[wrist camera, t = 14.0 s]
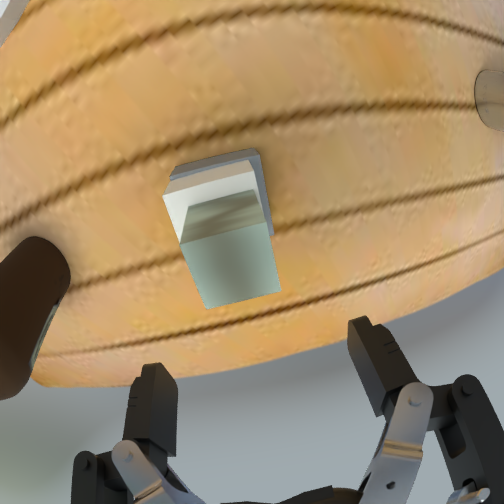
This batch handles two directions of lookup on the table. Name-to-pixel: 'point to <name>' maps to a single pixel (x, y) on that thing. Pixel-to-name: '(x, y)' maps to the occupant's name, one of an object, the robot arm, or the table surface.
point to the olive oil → (27, 307)
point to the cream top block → (207, 189)
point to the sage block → (229, 250)
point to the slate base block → (225, 160)
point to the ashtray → (10, 16)
